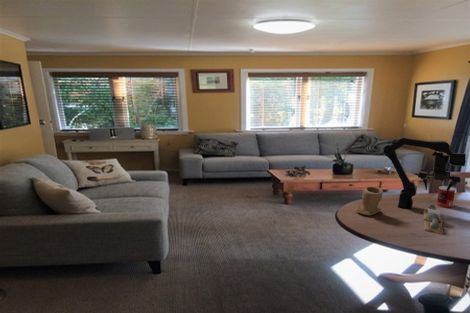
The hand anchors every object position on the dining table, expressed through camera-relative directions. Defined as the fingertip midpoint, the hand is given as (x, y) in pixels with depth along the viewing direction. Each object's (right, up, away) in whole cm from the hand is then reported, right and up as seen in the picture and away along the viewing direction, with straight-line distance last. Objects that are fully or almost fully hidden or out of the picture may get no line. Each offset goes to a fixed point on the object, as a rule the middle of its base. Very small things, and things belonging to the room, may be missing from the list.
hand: (436, 191), depth 156 cm
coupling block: (-10, -14, -11) cm, 20 cm away
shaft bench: (-10, -14, -11) cm, 20 cm away
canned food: (+13, -10, +12) cm, 20 cm away
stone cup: (-36, -12, +2) cm, 38 cm away
